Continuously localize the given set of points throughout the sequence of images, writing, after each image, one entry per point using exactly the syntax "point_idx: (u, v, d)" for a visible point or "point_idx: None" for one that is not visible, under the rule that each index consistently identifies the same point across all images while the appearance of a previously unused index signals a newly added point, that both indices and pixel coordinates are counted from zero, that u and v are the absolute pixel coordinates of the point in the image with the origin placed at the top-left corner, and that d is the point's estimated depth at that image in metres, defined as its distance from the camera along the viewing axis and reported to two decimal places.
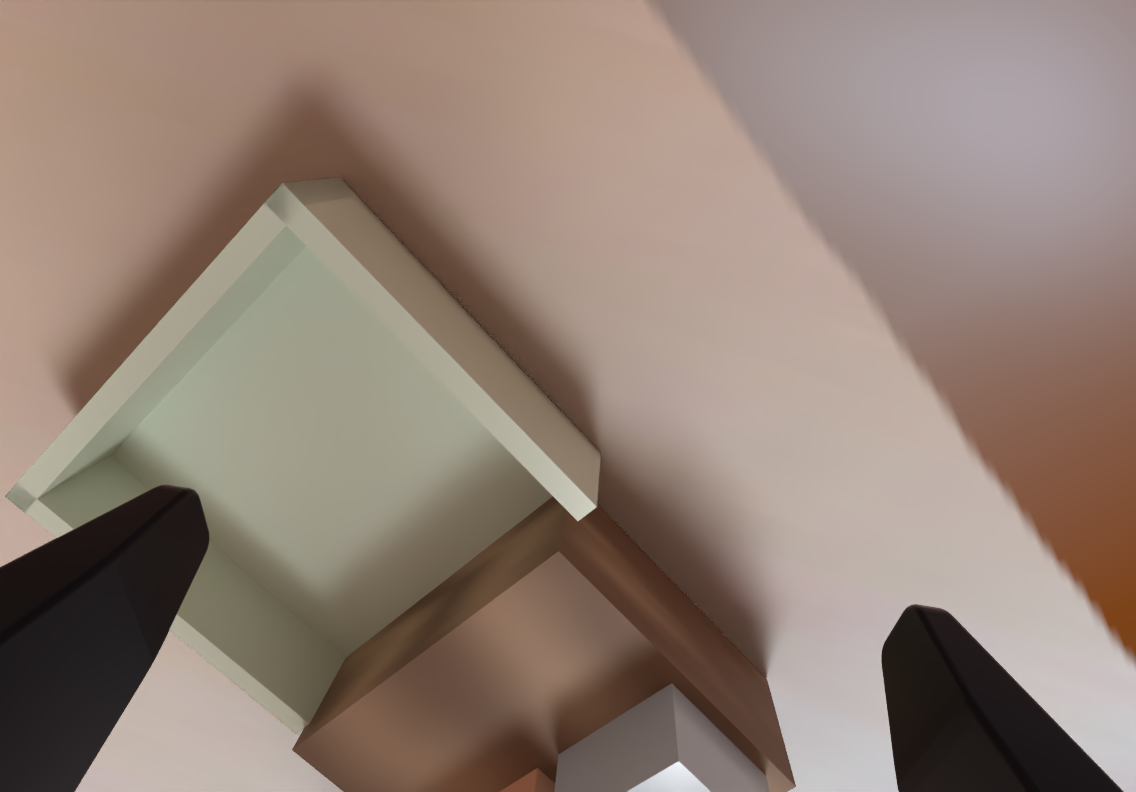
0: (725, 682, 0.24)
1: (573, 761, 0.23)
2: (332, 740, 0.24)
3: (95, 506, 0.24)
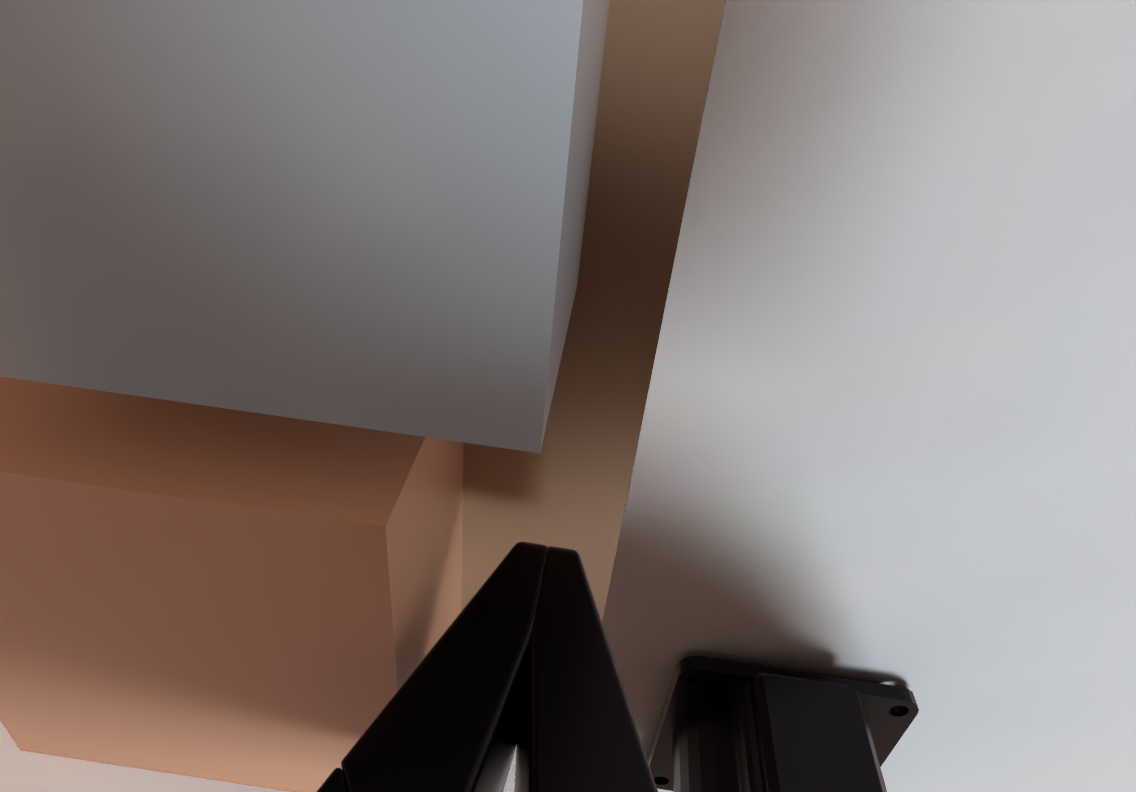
0: None
1: None
2: None
3: None
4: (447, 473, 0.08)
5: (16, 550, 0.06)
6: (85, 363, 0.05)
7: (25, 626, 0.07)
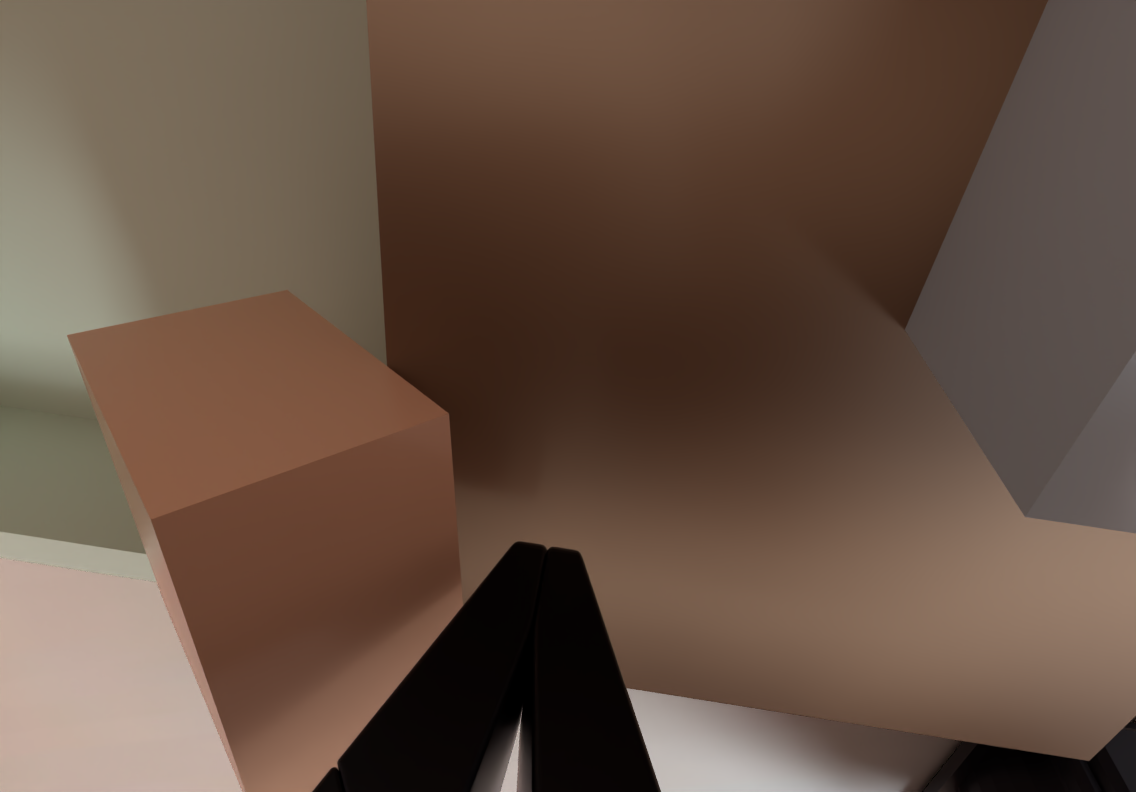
0: None
1: (956, 295, 0.07)
2: None
3: None
4: (391, 531, 0.08)
5: (108, 442, 0.09)
6: None
7: (130, 504, 0.10)
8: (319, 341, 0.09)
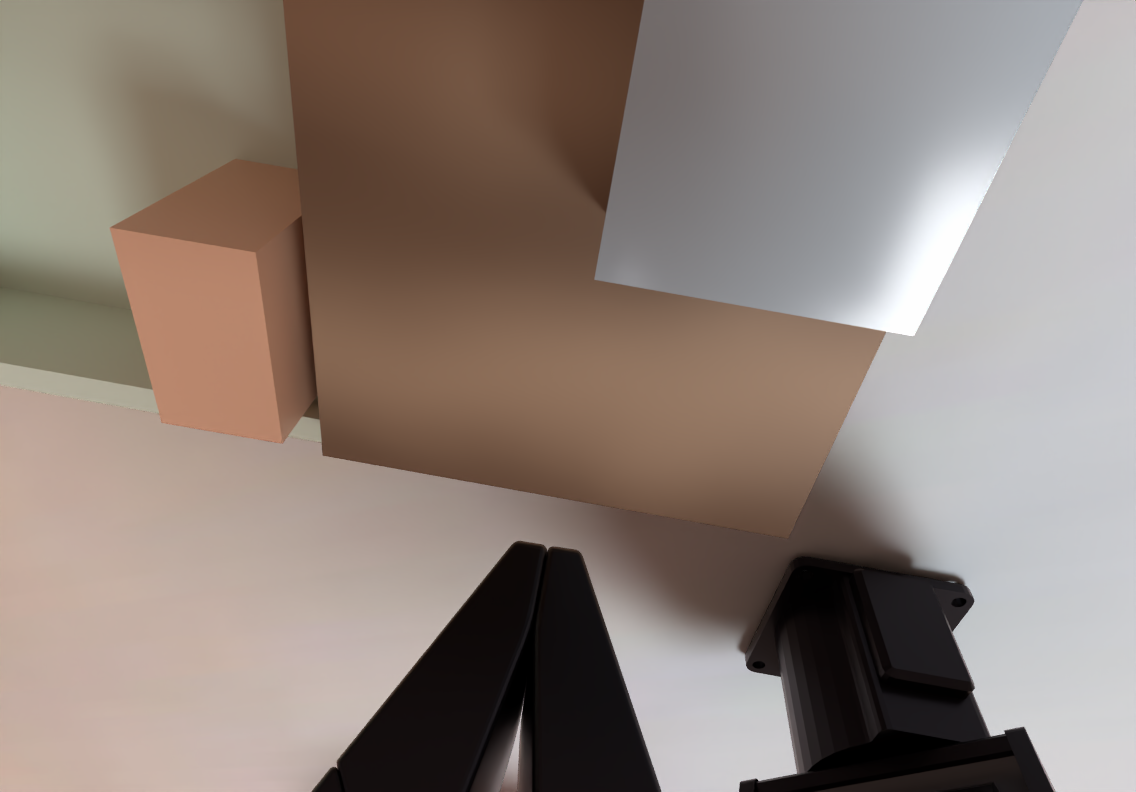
0: None
1: None
2: (344, 411, 0.16)
3: None
4: (224, 301, 0.14)
5: None
6: (698, 283, 0.10)
7: None
8: (296, 203, 0.16)
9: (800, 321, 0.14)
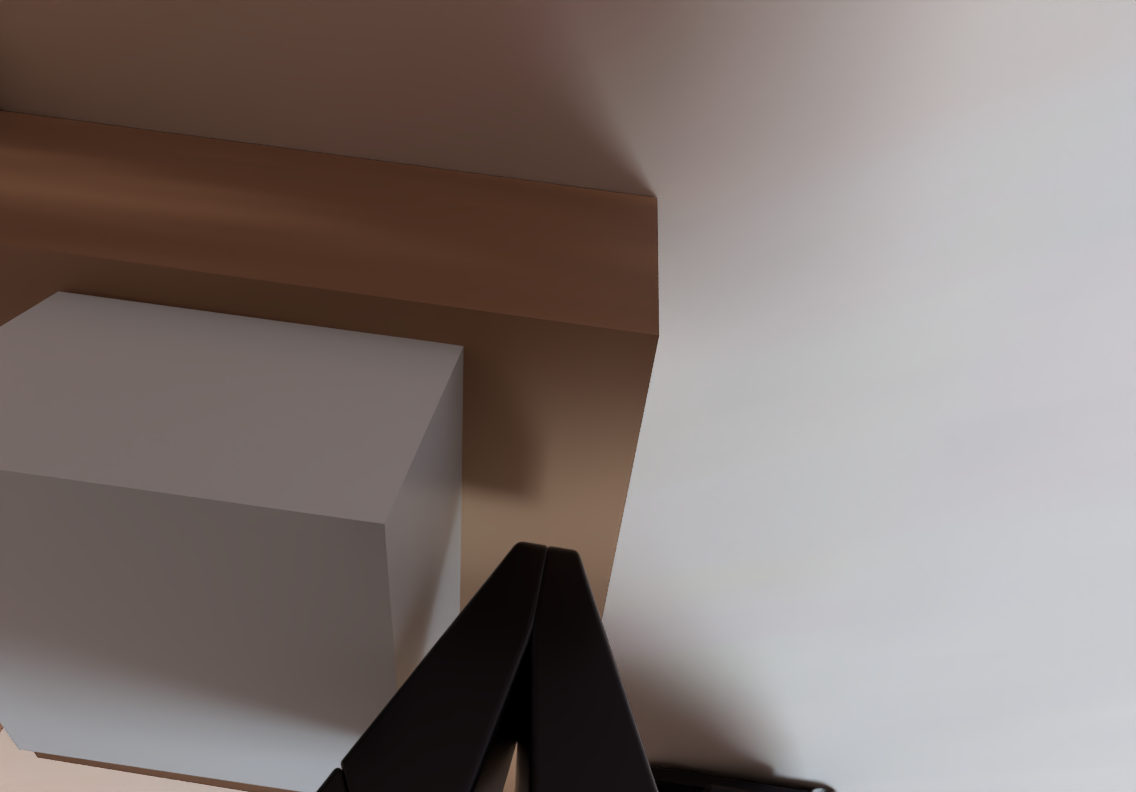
0: (416, 235, 0.09)
1: None
2: None
3: None
4: None
5: None
6: (133, 757, 0.08)
7: None
8: None
9: None
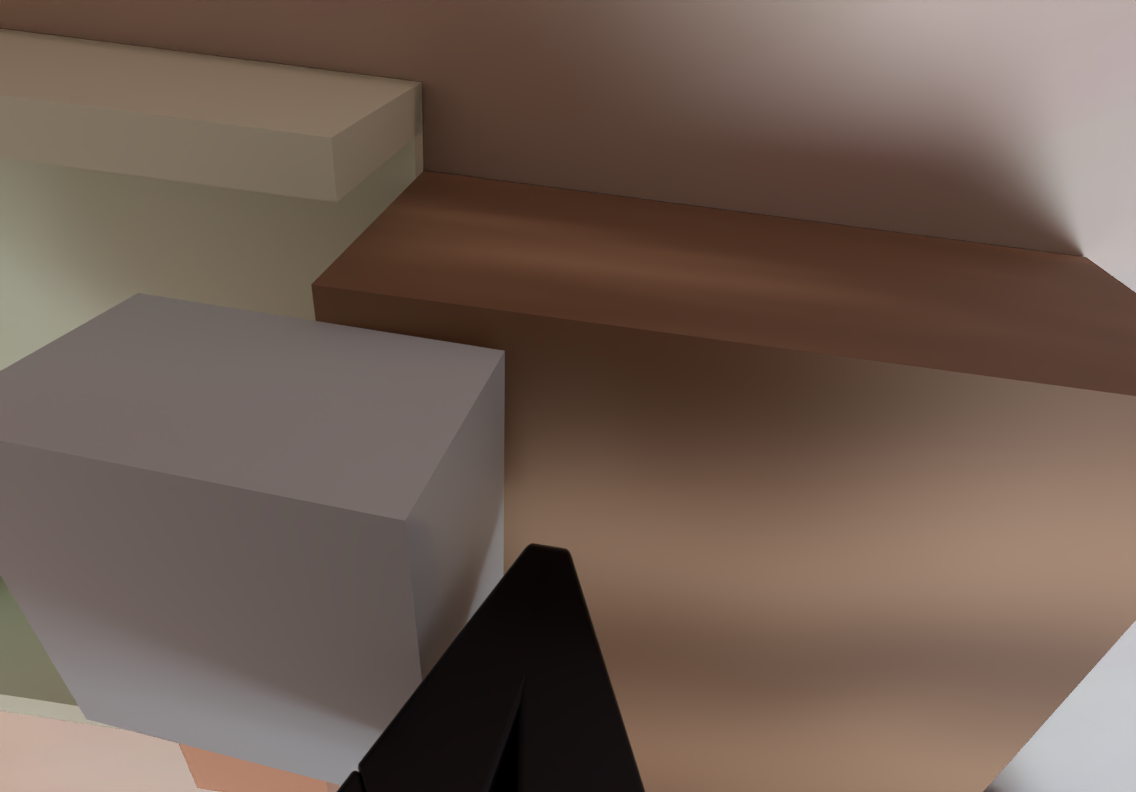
0: (960, 308, 0.10)
1: None
2: None
3: None
4: None
5: None
6: (185, 735, 0.09)
7: None
8: None
9: (928, 726, 0.12)
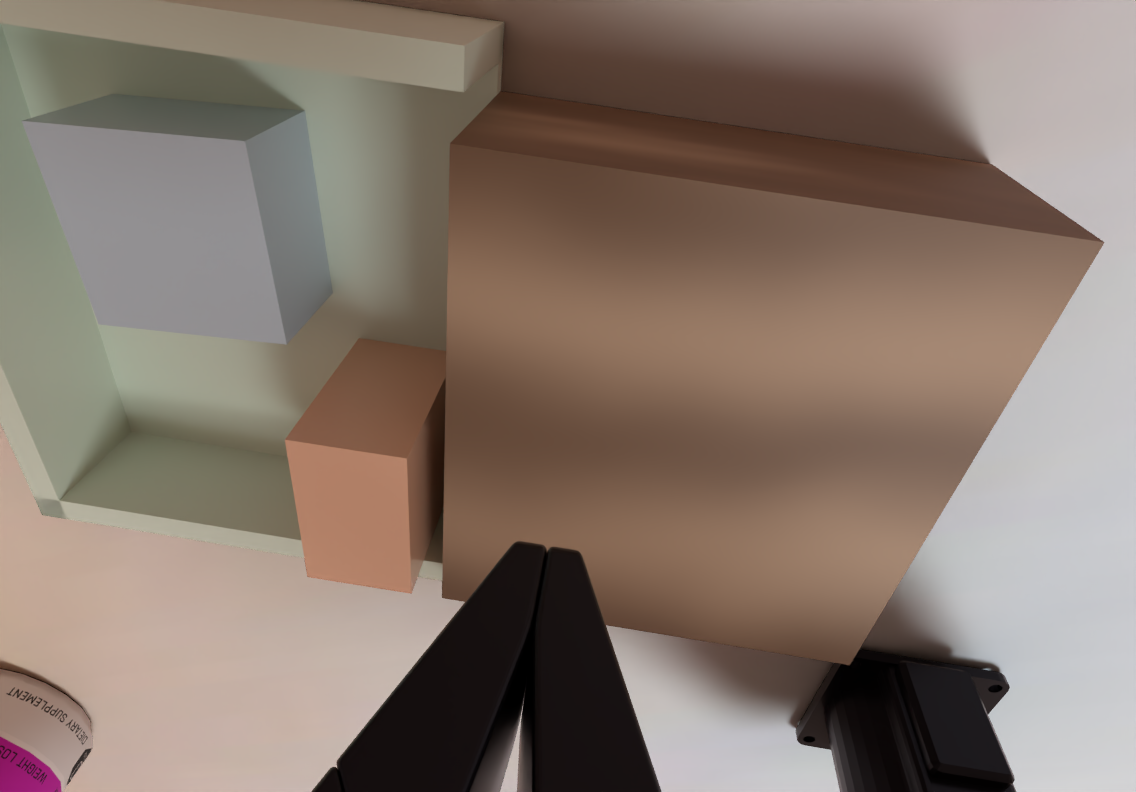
0: (886, 181, 0.14)
1: (293, 305, 0.17)
2: (464, 566, 0.19)
3: (125, 479, 0.22)
4: (375, 491, 0.17)
5: None
6: None
7: None
8: (423, 392, 0.19)
9: (866, 507, 0.16)
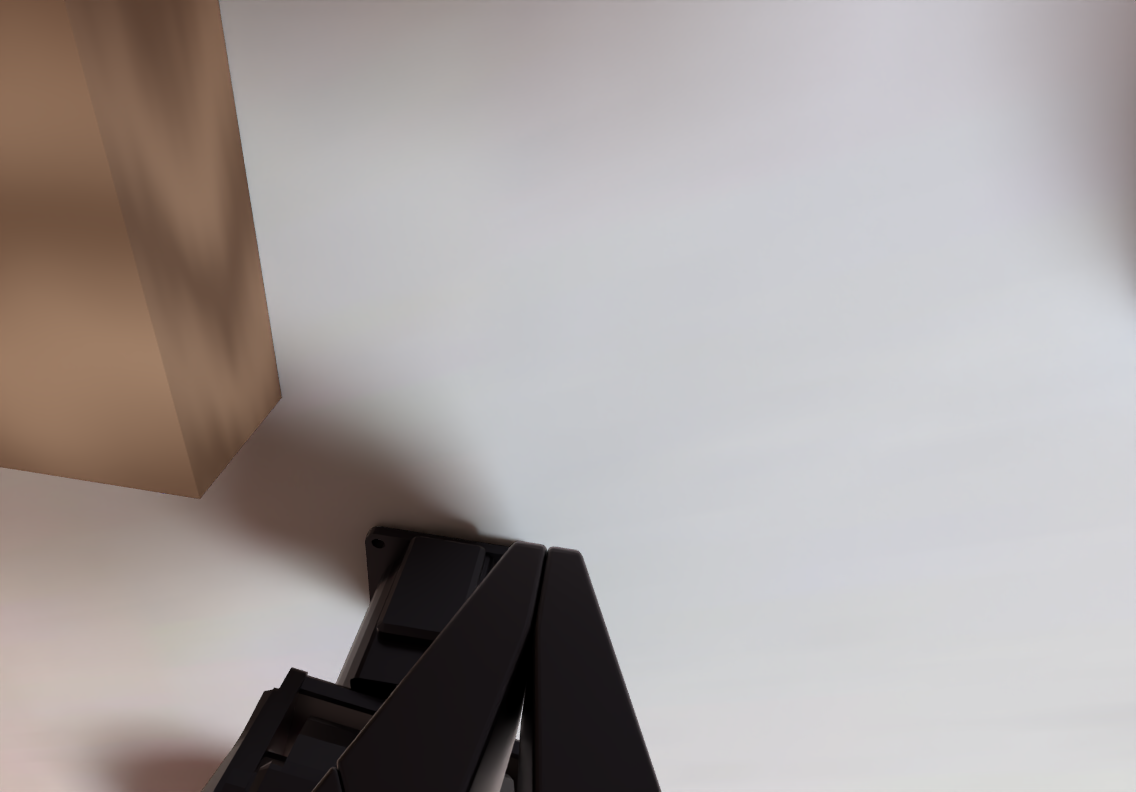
0: None
1: None
2: None
3: None
4: None
5: None
6: None
7: None
8: None
9: (74, 296, 0.16)
